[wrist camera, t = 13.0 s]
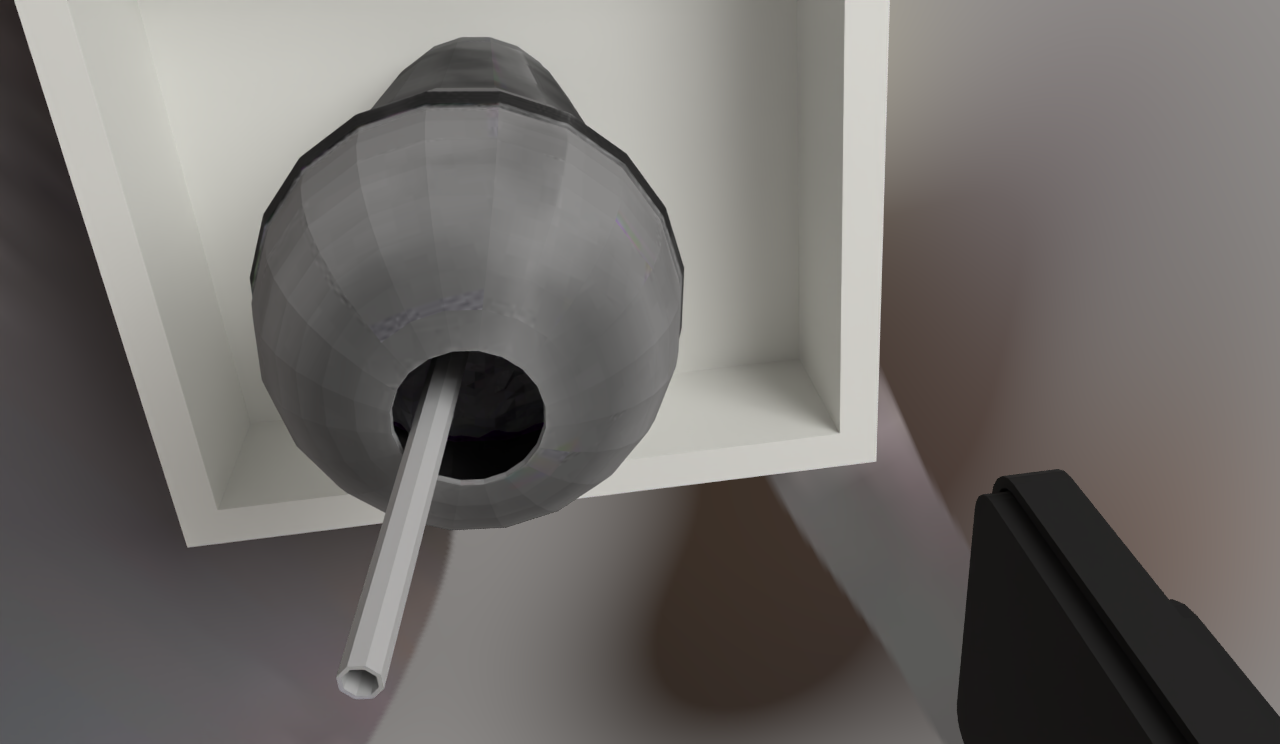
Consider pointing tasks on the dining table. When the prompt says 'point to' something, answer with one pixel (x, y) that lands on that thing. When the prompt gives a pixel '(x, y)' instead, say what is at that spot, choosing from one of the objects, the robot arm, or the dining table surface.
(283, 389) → the beverage cup
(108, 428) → the dining table surface
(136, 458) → the dining table surface
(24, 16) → the white bin
